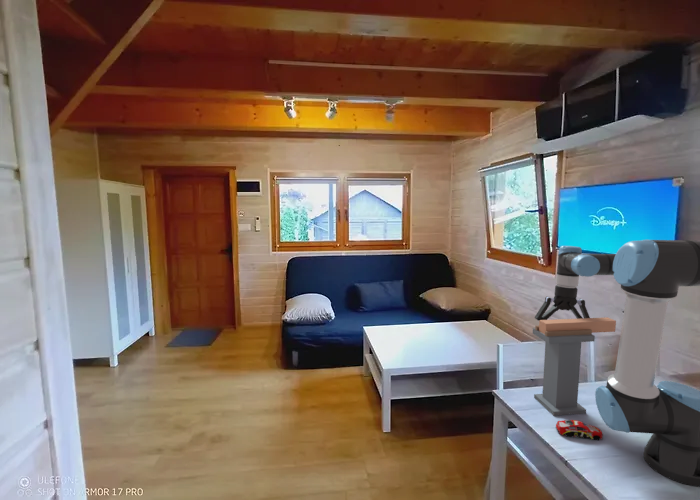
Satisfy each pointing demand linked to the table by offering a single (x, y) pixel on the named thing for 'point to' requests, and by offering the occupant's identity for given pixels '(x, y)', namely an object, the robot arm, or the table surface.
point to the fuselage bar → (578, 324)
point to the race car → (578, 430)
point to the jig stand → (562, 370)
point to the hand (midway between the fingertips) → (560, 339)
